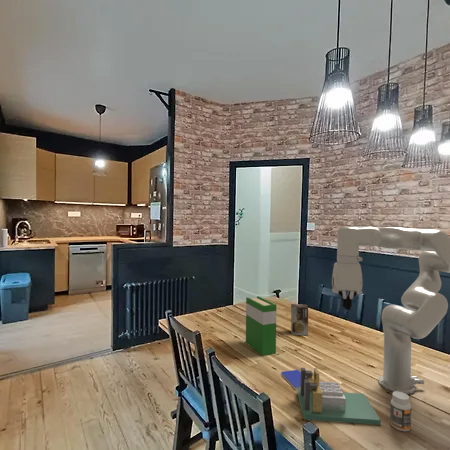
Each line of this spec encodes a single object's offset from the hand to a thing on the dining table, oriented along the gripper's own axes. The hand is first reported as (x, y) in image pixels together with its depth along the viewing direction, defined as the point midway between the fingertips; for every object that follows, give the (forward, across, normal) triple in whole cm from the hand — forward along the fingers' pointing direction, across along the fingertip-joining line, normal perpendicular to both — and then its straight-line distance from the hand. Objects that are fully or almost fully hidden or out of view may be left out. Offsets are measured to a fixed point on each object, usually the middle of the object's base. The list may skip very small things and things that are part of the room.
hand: (346, 308), depth 115 cm
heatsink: (+31, +8, +9) cm, 33 cm away
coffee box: (+32, +8, -61) cm, 69 cm away
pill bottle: (+32, -12, +17) cm, 38 cm away
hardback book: (+32, +31, -38) cm, 59 cm away
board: (+32, +6, +10) cm, 34 cm away
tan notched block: (+30, +14, +9) cm, 34 cm away
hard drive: (+33, +17, -8) cm, 38 cm away
